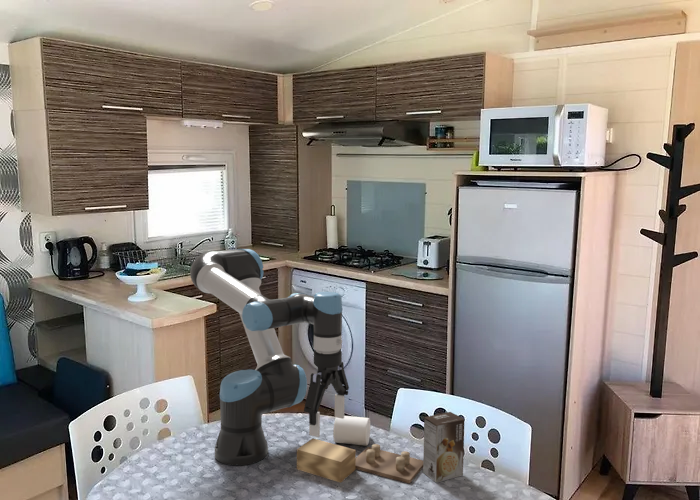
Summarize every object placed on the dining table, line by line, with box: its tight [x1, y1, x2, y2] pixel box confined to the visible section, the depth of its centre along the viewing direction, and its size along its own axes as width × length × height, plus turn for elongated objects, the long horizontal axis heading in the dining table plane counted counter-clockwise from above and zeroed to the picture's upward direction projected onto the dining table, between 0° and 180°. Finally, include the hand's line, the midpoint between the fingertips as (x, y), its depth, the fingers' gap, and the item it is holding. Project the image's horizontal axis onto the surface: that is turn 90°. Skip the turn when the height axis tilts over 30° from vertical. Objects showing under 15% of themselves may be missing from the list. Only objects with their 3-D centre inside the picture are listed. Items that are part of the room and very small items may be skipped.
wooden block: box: [296, 437, 357, 483], centre depth 160 cm, size 14×8×6 cm, turn 61°
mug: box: [332, 415, 371, 447], centre depth 179 cm, size 12×10×8 cm
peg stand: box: [355, 443, 423, 485], centre depth 163 cm, size 18×12×4 cm, turn 62°
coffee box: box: [422, 411, 465, 484], centre depth 158 cm, size 9×6×16 cm
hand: (327, 426), depth 159 cm, fingers open, 13 cm apart
